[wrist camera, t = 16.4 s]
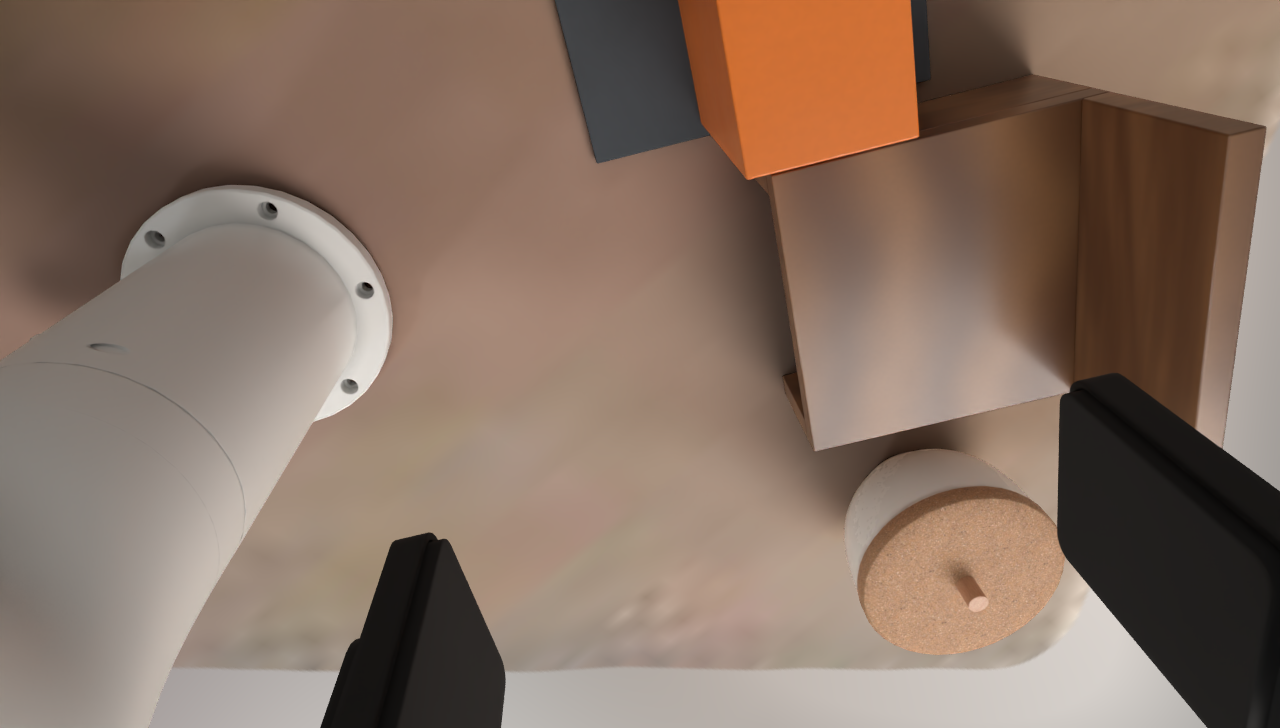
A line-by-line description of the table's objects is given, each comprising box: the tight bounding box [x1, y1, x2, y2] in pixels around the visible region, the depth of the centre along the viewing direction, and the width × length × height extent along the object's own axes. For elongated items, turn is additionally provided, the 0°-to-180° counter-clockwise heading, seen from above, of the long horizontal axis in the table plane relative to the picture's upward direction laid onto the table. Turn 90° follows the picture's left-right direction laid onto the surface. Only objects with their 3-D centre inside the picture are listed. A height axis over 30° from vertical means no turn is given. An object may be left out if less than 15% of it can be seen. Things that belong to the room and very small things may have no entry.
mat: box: [555, 0, 931, 163], centre depth 34 cm, size 16×10×1 cm, turn 103°
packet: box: [678, 0, 919, 180], centre depth 29 cm, size 6×9×11 cm, turn 13°
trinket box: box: [844, 449, 1065, 655], centre depth 43 cm, size 11×11×9 cm
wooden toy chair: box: [755, 75, 1266, 452], centre depth 34 cm, size 14×14×14 cm
